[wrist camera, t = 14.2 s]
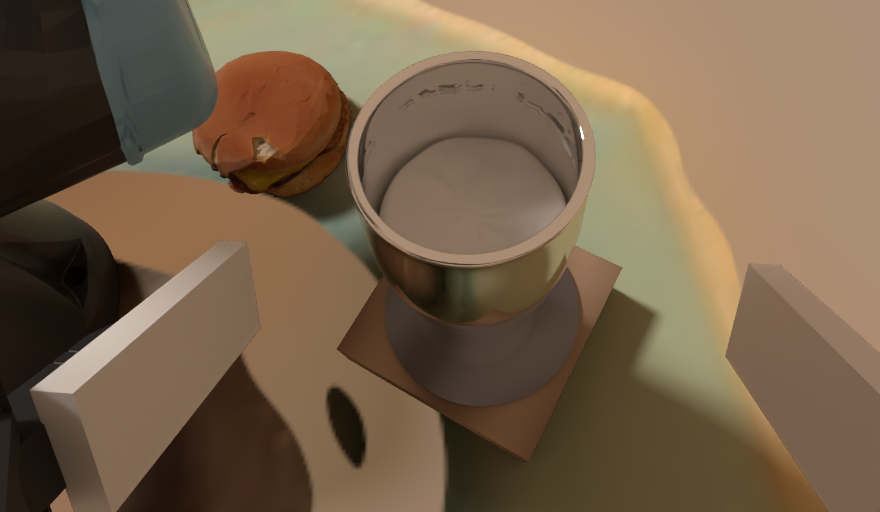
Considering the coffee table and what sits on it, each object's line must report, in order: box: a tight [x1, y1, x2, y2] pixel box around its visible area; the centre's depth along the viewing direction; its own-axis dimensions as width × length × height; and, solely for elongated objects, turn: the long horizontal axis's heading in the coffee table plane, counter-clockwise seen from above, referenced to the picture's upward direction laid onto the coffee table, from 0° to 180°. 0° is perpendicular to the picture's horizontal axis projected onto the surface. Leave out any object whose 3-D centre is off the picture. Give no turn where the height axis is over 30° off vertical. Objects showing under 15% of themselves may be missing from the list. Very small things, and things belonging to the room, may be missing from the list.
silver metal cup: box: [345, 51, 596, 366], centre depth 21 cm, size 7×7×15 cm
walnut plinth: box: [337, 246, 622, 462], centre depth 30 cm, size 11×11×3 cm
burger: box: [192, 51, 351, 197], centre depth 35 cm, size 10×9×5 cm
